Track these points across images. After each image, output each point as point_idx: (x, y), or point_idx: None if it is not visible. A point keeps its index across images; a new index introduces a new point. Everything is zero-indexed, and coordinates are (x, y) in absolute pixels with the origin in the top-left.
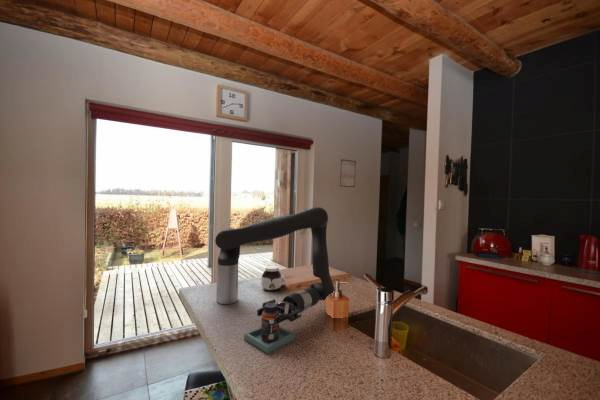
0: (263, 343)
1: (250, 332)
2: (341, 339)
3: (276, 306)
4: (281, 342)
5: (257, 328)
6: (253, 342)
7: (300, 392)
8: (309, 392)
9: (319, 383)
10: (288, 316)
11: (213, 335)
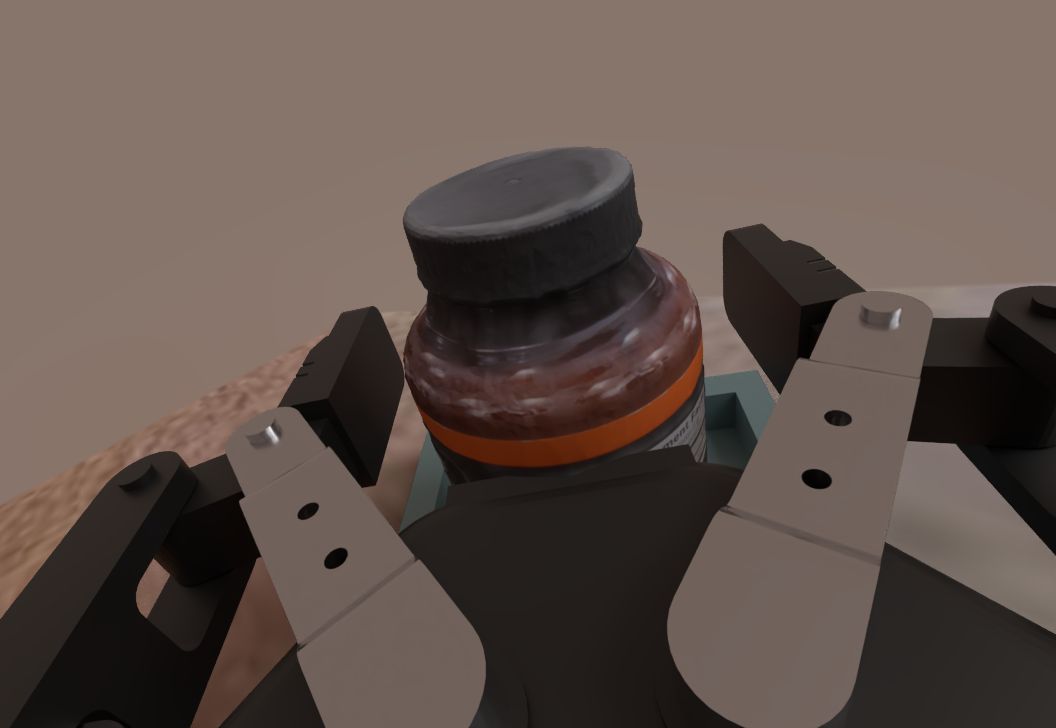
0: None
1: (747, 407)
2: None
3: (410, 241)
4: None
5: None
6: None
7: (139, 436)
8: (92, 462)
9: (29, 531)
10: (222, 467)
11: (958, 299)
